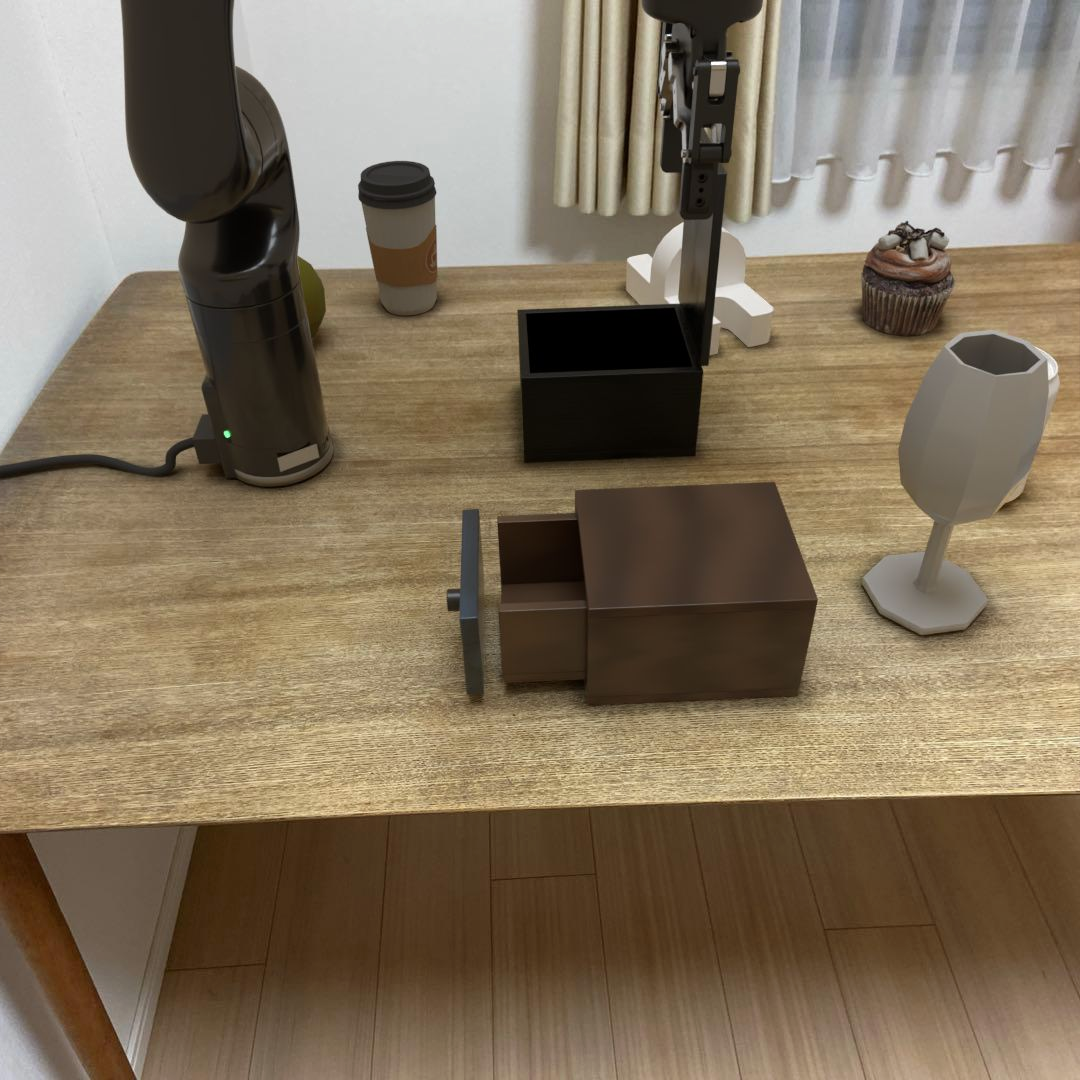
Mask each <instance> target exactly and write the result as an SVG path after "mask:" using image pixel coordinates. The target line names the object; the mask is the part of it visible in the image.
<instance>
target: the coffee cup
mask: <svg viewBox="0 0 1080 1080" xmlns="http://www.w3.org/2000/svg"><path fill="white" fill-rule="evenodd" d="M435 185H436V182H435V178H434V177H433V176H432V175H431V170H430V168H429V167H428V166H427V165H425V164H423V163H421V162H416V161H410V160H391V161H390V160H389V161H384V162H379V163H375V164H373V165H370V166H367V167H366V168H365V169H363V170H362V171H361V173H360V181H359V183H358V184H357V188H358V195H357V196H358V201H360V203H361V207H362V208H361V209H362V212H363V213H362V214H363V218H364V222H365V223H364V224H365V231H366V236H367V241H368V246H369V251H370V257H371V260H372V261H371V262H372V265H373V272H374V276H375V281H376V282H377V286H378V292H379V296H380V302H381V304H382V305H383V307H384V309H385V310H386V311H387V312H388V313H390V314H393V315H398V316H417V315H420V314H423V313H426V312H428V311H430V310H431V309H432V308H433V307H435V304H436V301H437V299H438V241H437V240H438V238H437V236H438V235H437V234H438V233H437V224H436V195H437V189H436V186H435Z"/></svg>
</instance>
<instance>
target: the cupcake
mask: <svg viewBox="0 0 1080 1080" xmlns="http://www.w3.org/2000/svg"><path fill="white" fill-rule="evenodd" d="M945 234H946V233H945V232H944V231H942V229H941V228H939V227H934V228H932V229H929V230H927V231H926V229H923V228H920V227H919V228H918V227H916V228H915V227H914V226H913V225H912V224H910V223H909V220H905V221H904V222H903V221H902V222H900V223H899V224H898V225H896V227H895V228H894V229H892V230H891V229H890V230H888V233H886V234H885V235H883V236H880V237H879V238H878V241H877V242H876V243H875V244H874V246H873V247H872V248H871V250H870V251H868V253H867V255H866V257H865V260H864V265H863V267H862V272H861V274H860V275H861V282H860V283H861V316H862V320H863V321H864V322H865V324H867V325H868V326H869V327H870V328H873V329H875V330H876V331H878V332H883V333H885V334H888V335H894V336H903V337H908V336H909V337H911V336H912V337H913V336H919V335H920V336H921V335H924V334H926V333H929V332H931V331H933V330H934V329H935V327H936V325H937V323H938V322H939V319H940V317H941V315H942V313H943V310H944V308H945V307H946V304H947V302H948V300H949V298H950V297H951V295H952V292H953V290H954V288H955V286H956V280H955V277H954V274H953V273H952V271H951V268H952V259H951V256H950V255H949V253H948V252H947V251H946V250H945V249H946V248H947V246H948V245H949V242H950V239H949V237H948V236H947V235H945Z"/></svg>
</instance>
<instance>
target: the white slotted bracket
mask: <svg viewBox="0 0 1080 1080" xmlns="http://www.w3.org/2000/svg"><path fill="white" fill-rule="evenodd" d="M683 224H684V221H683V222H681V223H679V224H677V225H676V226H674V227H672V229H671V230H670V231H668V233H667V234H665V235H664V236H663V238H662V239H661V240H660V242H659V244H658V245H657V246H656V249H655V251H654V254H653V255H652V256H651V255H650V254H648V253H644V254H637V255H632V256H629V257H628V258H627V259H626V274H625V275H626V279H625V291H626V293H628V295H630V296H631V298H632V299H633V300H634V301H635V302H636V303H637V305H654V304H680V303H679V300H678V293H679V279H680V266H681V252H682V238H683ZM746 270H747V255H746V252H745V248H744V246H743V244H742V243H741V242H740V240H739V239H738V238H737V237H736V236H735V235H733V234H732V233H730V231H728V230H727V229H726V228H724V226H722V233H721V243H720V253H719V263H718V274H717V284H716V294H715V305H714V315H713V325H712V336H711V346H710V356H714V355H718V354H719V345H720V337H721V329H725V330H727V331H730V332H731V333H732V334H733V335H734V336H736V337H737V338H738V339H739V340H740V341H741V342H742V343H743V344H744V345H745V346H746V347H747V348H753V347H756V346H763V345H766V344H768V343H769V342H770V337H771V332H772V331H771V330H772V323H773V316H774V311H775V310H774V307H773V306H772V305H771V304H770V303H769V302H768V301H766V300H765V299H764V298H763V297H762V296H761V295H760V294H758V293H757V292H756V291H755V290H753V288H751V287H750V286H749V285H748V284H747V283H745V281H746Z"/></svg>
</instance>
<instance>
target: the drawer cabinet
mask: <svg viewBox="0 0 1080 1080" xmlns="http://www.w3.org/2000/svg"><path fill="white" fill-rule="evenodd" d="M574 513H577V521H578V530H579V539H580V548H581V558H582V567H583V576H584V585H585V594H586V603H587V670H586V679H583V680H584V688H585V700H586V705H587V706H598V705H600V706H601V705H621V704H640V703H641V704H643V703H645V704H646V703H666V702H688V701H708V700H709V701H711V700H731V699H753V698H776V697H797V696H799V693H800V689H801V683H802V678H803V674H804V669H805V664H806V659H807V654H808V651H809V645H810V640H811V636H812V631H813V627H814V622H815V617H816V612H817V607H818V603H819V598H818V595H817V593H816V590H815V588H814V587H815V586H814V584H813V582H812V580H811V579H812V578H811V576H810V573H809V571H808V568H807V566H806V563H805V560H804V558H803V555H802V552H801V549H800V547H799V544H798V541H797V538H796V535H795V533H794V529H793V527H792V524H791V522H790V519H789V517H788V513H787V512H786V508H785V506H784V503H783V500H782V498H781V495H780V491H779V489H778V487H777V484H776V482H775V481H760V482H759V481H757V482H739V483H737V482H736V483H735V482H734V483H713V484H711V483H709V484H687V485H665V486H664V485H663V486H661V485H660V486H638V487H615V488H613V487H612V488H611V487H610V488H589V489H587V488H586V489H575V491H574Z"/></svg>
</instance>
